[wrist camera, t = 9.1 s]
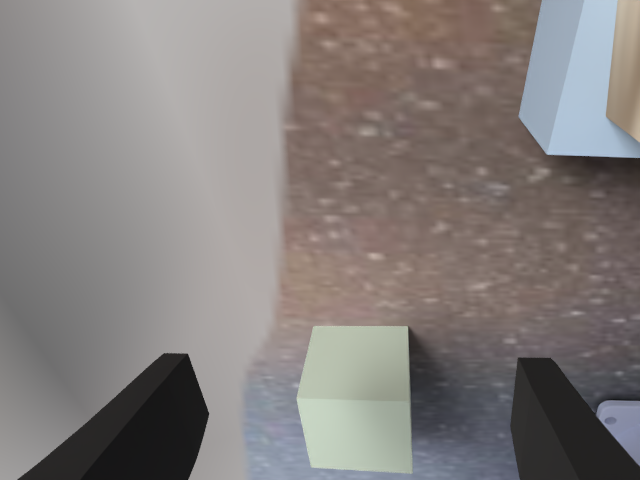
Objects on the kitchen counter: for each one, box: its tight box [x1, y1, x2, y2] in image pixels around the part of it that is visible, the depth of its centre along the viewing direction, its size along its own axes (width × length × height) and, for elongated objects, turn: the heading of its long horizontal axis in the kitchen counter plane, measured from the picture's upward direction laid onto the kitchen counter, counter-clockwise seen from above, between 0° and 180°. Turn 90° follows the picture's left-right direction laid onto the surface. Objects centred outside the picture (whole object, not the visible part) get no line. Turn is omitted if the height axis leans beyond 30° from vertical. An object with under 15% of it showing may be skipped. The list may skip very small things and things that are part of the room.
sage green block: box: [297, 326, 413, 474], centre depth 22 cm, size 4×4×4 cm
